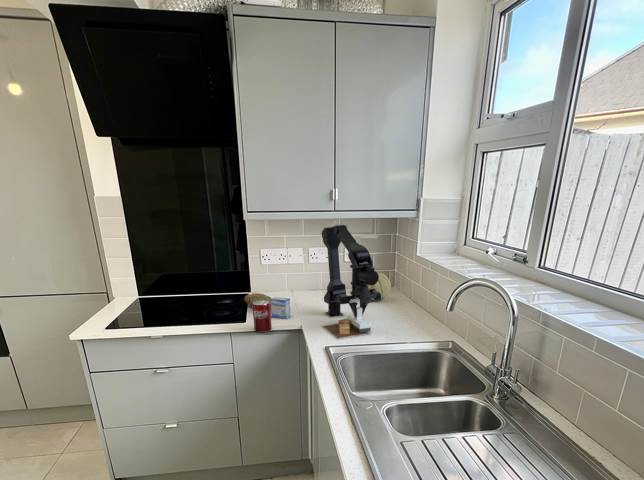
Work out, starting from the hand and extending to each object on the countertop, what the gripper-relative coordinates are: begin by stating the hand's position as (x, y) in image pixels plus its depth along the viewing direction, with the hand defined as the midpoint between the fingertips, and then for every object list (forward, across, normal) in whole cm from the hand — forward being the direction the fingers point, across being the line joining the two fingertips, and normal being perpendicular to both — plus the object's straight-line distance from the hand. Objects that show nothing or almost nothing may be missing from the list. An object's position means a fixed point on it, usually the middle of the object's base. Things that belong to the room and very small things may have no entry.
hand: (358, 316), depth 171 cm
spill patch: (+5, -6, 0) cm, 8 cm away
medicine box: (+5, -26, +29) cm, 39 cm away
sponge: (+5, -32, +47) cm, 57 cm away
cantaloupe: (+5, +28, +37) cm, 47 cm away
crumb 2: (+5, -8, -3) cm, 10 cm away
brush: (+4, 0, 0) cm, 4 cm away
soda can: (+5, -38, +14) cm, 41 cm away
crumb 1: (+5, -5, +3) cm, 8 cm away
